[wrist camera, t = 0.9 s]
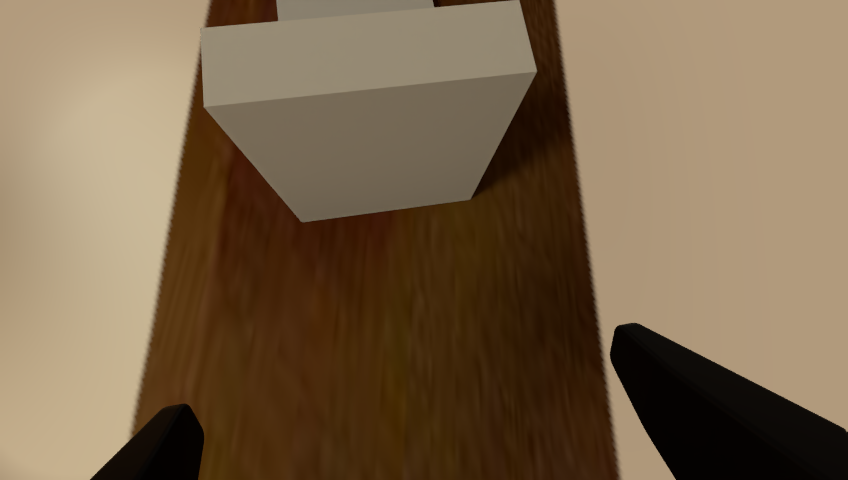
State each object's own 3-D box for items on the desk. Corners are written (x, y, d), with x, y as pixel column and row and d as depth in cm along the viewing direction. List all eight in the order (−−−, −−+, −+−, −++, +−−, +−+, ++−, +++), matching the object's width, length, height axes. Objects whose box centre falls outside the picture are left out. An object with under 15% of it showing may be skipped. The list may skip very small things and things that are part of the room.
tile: (470, 199, 22) (536, 71, 11) (302, 222, 21) (203, 106, 11) (461, 156, 23) (517, -4, 12) (297, 176, 22) (200, 23, 11)
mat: (451, 111, 23) (453, 105, 23) (291, 129, 22) (288, 124, 22) (424, -33, 25) (424, -42, 25) (276, -21, 25) (273, -30, 24)
